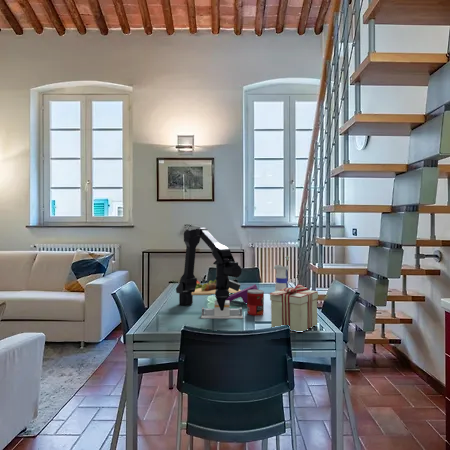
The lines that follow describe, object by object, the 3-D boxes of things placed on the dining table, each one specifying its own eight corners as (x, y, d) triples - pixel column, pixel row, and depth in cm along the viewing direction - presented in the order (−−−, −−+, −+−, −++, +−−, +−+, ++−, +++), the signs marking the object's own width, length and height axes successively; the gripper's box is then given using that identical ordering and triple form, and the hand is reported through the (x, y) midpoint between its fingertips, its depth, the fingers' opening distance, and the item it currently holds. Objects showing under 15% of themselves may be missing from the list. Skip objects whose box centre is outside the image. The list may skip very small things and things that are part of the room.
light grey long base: (201, 318, 177) (201, 310, 176) (202, 313, 186) (202, 305, 185) (242, 318, 177) (242, 310, 177) (241, 313, 186) (241, 305, 186)
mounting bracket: (229, 314, 206) (259, 302, 202) (222, 300, 207) (252, 287, 203) (233, 310, 215) (262, 298, 211) (226, 296, 216) (255, 284, 212)
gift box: (280, 318, 177) (280, 281, 176) (318, 325, 166) (319, 285, 166) (261, 327, 163) (262, 286, 162) (302, 335, 152) (303, 292, 152)
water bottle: (276, 298, 220) (277, 254, 220) (291, 299, 216) (291, 255, 215) (271, 300, 213) (271, 255, 213) (285, 302, 209) (286, 256, 208)
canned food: (259, 316, 180) (259, 293, 180) (244, 314, 184) (244, 291, 184) (266, 313, 187) (266, 290, 186) (251, 311, 191) (251, 288, 191)
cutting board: (183, 296, 227) (183, 283, 227) (182, 288, 250) (182, 277, 250) (242, 295, 232) (242, 282, 231) (236, 287, 255) (236, 276, 255)
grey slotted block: (214, 316, 178) (214, 303, 178) (214, 312, 184) (214, 300, 184) (229, 316, 178) (229, 303, 178) (229, 313, 184) (229, 300, 184)
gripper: (240, 278, 172) (240, 313, 172) (238, 271, 190) (238, 303, 191) (215, 278, 171) (215, 313, 172) (215, 271, 190) (215, 303, 190)
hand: (221, 308), depth 181 cm, fingers open, 9 cm apart
